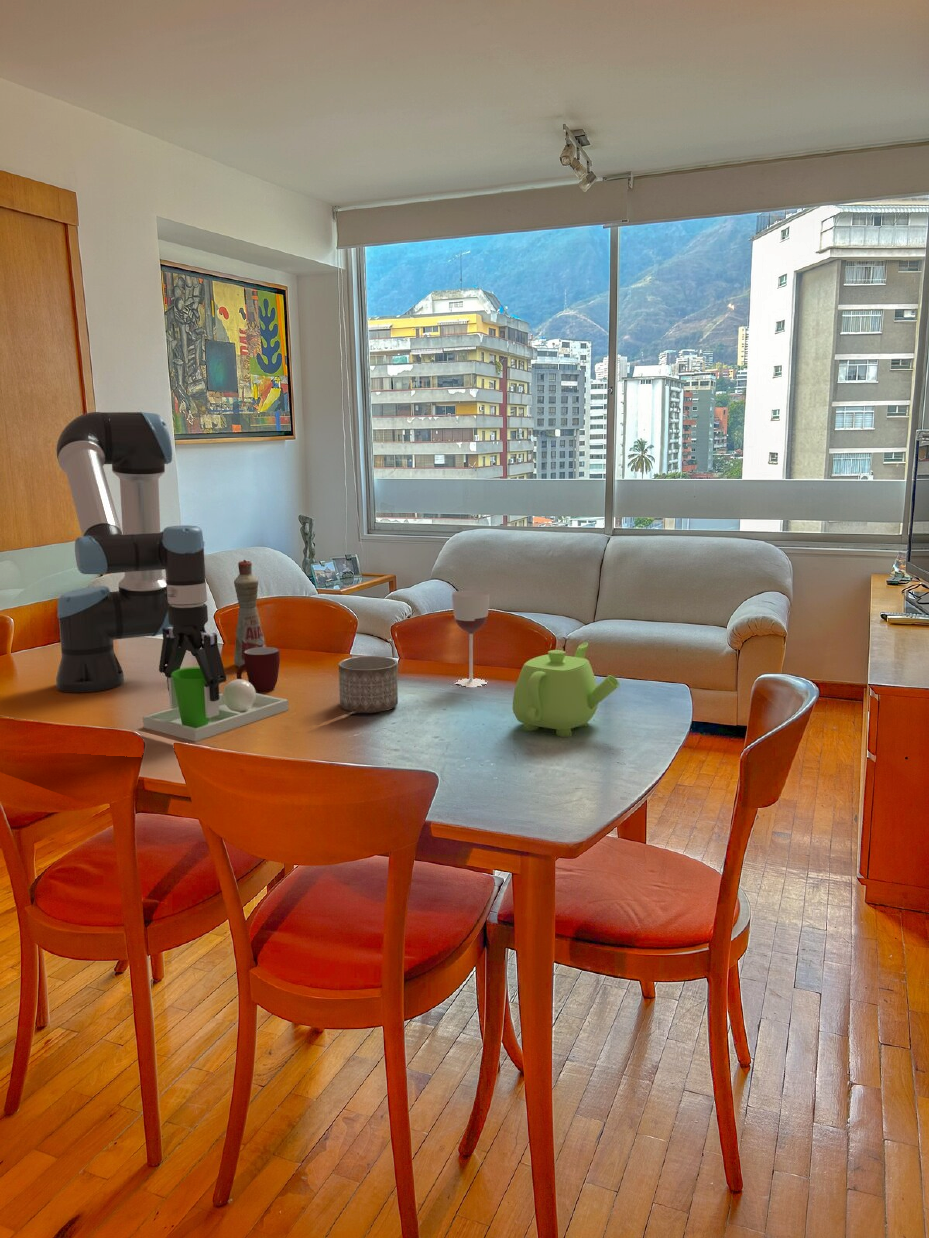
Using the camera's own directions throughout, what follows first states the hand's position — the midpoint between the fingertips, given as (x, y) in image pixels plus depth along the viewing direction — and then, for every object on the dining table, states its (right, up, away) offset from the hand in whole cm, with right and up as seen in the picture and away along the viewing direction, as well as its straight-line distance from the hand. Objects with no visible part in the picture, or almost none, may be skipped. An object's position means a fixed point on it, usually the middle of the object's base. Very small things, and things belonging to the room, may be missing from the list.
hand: (194, 711), depth 183 cm
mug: (+7, +1, +27) cm, 28 cm away
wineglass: (+56, +3, +35) cm, 67 cm away
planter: (+34, -1, +15) cm, 37 cm away
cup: (0, -3, 0) cm, 3 cm away
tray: (+3, -3, +6) cm, 7 cm away
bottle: (-1, +6, +54) cm, 54 cm away
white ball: (+7, -1, +10) cm, 12 cm away
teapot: (+77, -3, +2) cm, 77 cm away
